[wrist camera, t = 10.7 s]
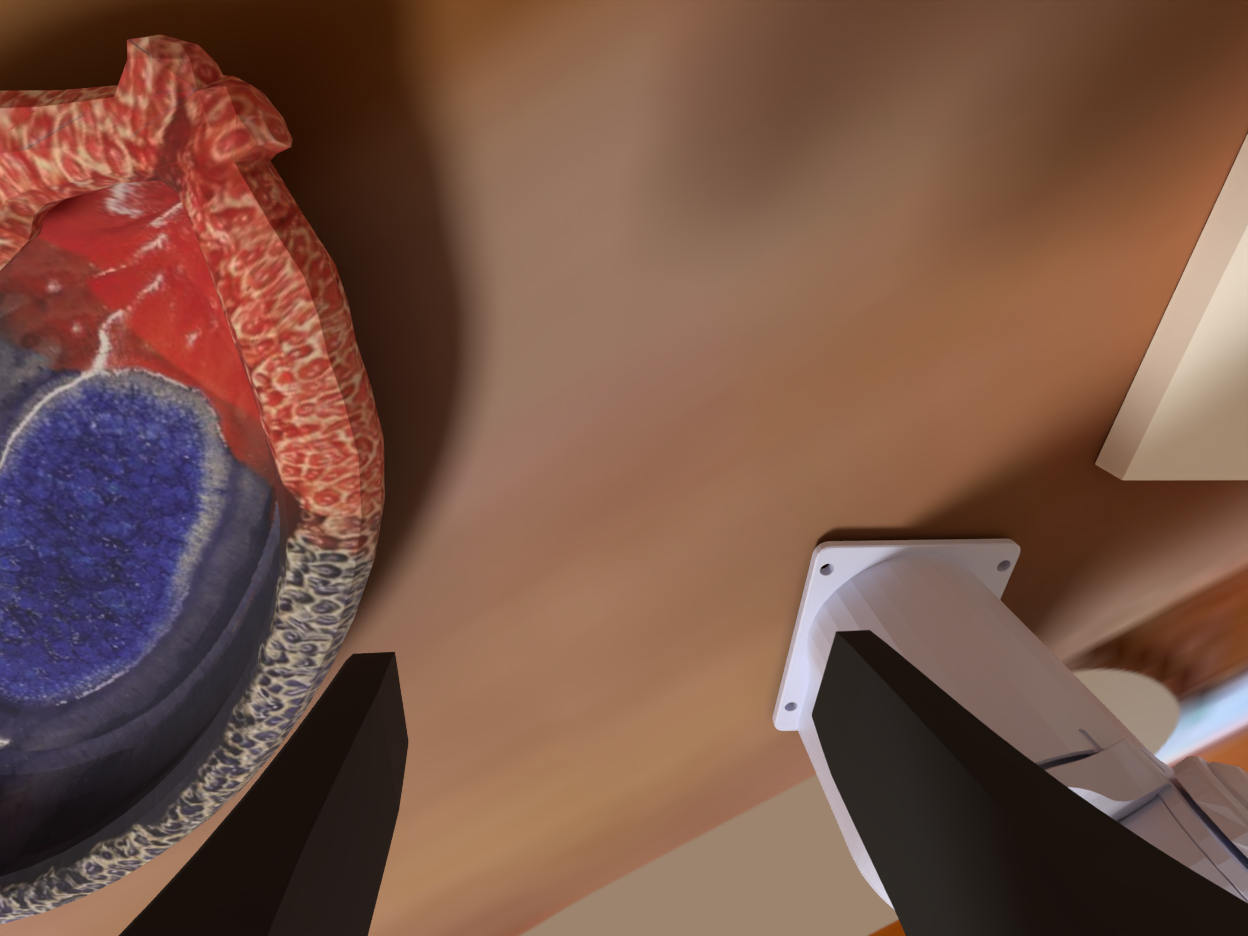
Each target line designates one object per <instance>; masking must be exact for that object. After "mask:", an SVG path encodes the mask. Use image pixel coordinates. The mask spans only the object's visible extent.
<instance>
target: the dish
mask: <svg viewBox="0 0 1248 936" xmlns="http://www.w3.org/2000/svg"><path fill="white" fill-rule="evenodd" d="M292 141H293V140H292V138H291V135H290V133H289V130H288V128H287V125H286V123H285V121H284V118H283V117H282V116H281V114H280V113H279V112H278V111H277V109H276V108H275V107H274V106H273V104H272V103H271V102H270V101H269V99H268V98H267V97H266V96H265V94H264V93H262V92H261V91H260V90H258V89H257V88H255V87H254V86H252V85H250V84H248V83H247V82H245V81H243V80H241V79H239V78H237V77H235V76H226V75H223V73H222V71H221V69H220V67H219V65H218V64H217V63H216V62H215V61H214V60H213V59H212V58H211V57H210V56H209V54H208V53H207V52H206V51H205V50H204V49H202V48H201V47H200V46H199V45H197V44H194V43H191V42H187V41H183V40H180V39H176V38H173V37H169V36H165V35H162V34H159V35H153V36H147V37H140V38H134V39H128V40H127V62H126V65H125V67H124V70H123V73H122V76H121V78H120V81H119V84H118V85H114V86H103V87H92V88H80V89H69V90H20V91H0V924H4V923H8V922H11V921H15V920H18V919H22V918H25V917H29V916H33V915H36V914H40V913H43V912H46V911H49V910H51V909H54V908H57V907H59V906H62V905H64V904H67V903H69V902H72V901H75V900H77V899H80V898H82V897H85V896H87V895H89V894H91V893H93V892H95V891H97V890H99V889H101V888H103V887H105V886H107V885H109V884H111V883H113V882H115V881H117V880H119V879H121V878H123V877H124V876H126V875H127V874H129V873H131V872H132V871H134V870H136V869H137V868H139V867H140V866H142V865H144V864H145V863H147V862H148V861H150V860H152V859H153V858H155V857H156V856H158V855H160V854H161V853H163V852H164V851H166V850H167V849H169V848H170V847H172V846H173V845H175V844H176V843H177V842H179V841H180V840H181V839H183V838H184V837H185V836H187V835H188V834H189V833H191V832H192V831H193V830H195V829H196V828H197V827H199V826H200V825H201V824H203V823H204V822H205V821H207V820H208V819H209V818H210V817H212V816H213V815H214V814H215V813H216V812H217V811H218V810H219V809H220V808H221V807H222V806H223V805H225V804H226V803H227V802H228V801H229V800H230V799H231V798H232V797H233V796H234V795H235V794H237V793H238V792H239V791H240V790H241V789H242V788H243V787H244V786H245V785H246V784H247V783H248V782H249V780H250V779H251V778H252V777H253V776H254V775H255V774H256V773H257V771H258V770H259V769H260V768H261V767H262V766H263V765H264V764H265V762H266V761H267V760H268V759H269V758H270V757H271V756H272V755H273V754H274V752H275V751H276V750H277V748H278V747H279V746H280V744H281V743H282V742H283V740H284V739H285V737H286V736H287V735H288V733H289V732H290V731H291V729H292V728H293V726H294V725H295V724H296V722H297V721H298V720H299V718H300V717H301V715H302V714H303V713H304V711H305V710H306V708H307V706H308V704H309V703H310V701H311V699H312V698H313V696H314V694H315V693H316V691H317V689H318V688H319V686H320V684H321V683H322V681H323V679H324V678H325V676H326V674H327V673H328V671H329V669H330V668H331V666H332V664H333V661H334V659H335V657H336V655H337V653H338V651H339V649H340V647H341V645H342V643H343V641H344V639H345V637H346V635H347V633H348V631H349V629H350V627H351V625H352V623H353V620H354V618H355V615H356V612H357V609H358V606H359V603H360V600H361V597H362V594H363V592H364V589H365V586H366V583H367V580H368V577H369V574H370V571H371V568H372V565H373V562H374V559H375V555H376V549H377V543H378V537H379V531H380V525H381V519H382V513H383V507H384V501H385V482H384V438H383V434H382V430H381V426H380V421H379V417H378V413H377V409H376V405H375V401H374V397H373V393H372V389H371V385H370V381H369V378H368V375H367V372H366V369H365V366H364V363H363V360H362V357H361V354H360V351H359V348H358V345H357V342H356V339H355V334H354V329H353V324H352V319H351V314H350V309H349V304H348V300H347V297H346V294H345V291H344V289H343V286H342V283H341V280H340V277H339V274H338V271H337V268H336V265H335V263H334V261H333V260H332V258H331V257H330V255H329V254H328V252H327V250H326V249H325V247H324V246H323V244H322V243H321V241H320V240H319V238H318V237H317V235H316V233H315V232H314V230H313V229H312V227H311V226H310V224H309V223H308V221H307V220H306V218H305V216H304V215H303V213H302V212H301V210H300V209H299V207H298V205H297V204H296V202H295V200H294V199H293V197H292V195H291V194H290V192H289V190H288V189H287V187H286V185H285V184H284V182H283V180H282V179H281V177H280V175H279V174H278V172H277V170H276V169H275V167H274V165H273V164H272V162H271V159H272V158H273V157H274V156H275V155H276V154H277V153H279V152H281V151H283V150H286V149H288V148H290V147H291V146H292Z"/></svg>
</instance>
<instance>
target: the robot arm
mask: <svg viewBox="0 0 1248 936" xmlns="http://www.w3.org/2000/svg"><path fill="white" fill-rule="evenodd" d="M1020 551H1021V549H1020V546H1019V545H1017V544H1016V543H1015V542H1014V541H1013V540H1011V539H947V540H880V541H828V542H823V543H821V544H819V545H818V546H817V547H816V548H815V549H814V552H813V554H812V558H811V563H810V567H809V571H808V575H807V579H806V583H805V587H804V591H803V595H802V599H801V603H800V608H799V612H798V616H797V620H796V624H795V628H794V632H793V636H792V640H791V644H790V648H789V652H788V657H787V661H786V665H785V669H784V673H783V677H782V681H781V685H780V689H779V693H778V697H777V701H776V706H775V710H774V714H773V723H774V725H775V727H776V728H777V729H778V730H780V731H794V730H798V732H799V734H800V736H801V739H802V741H803V743H804V746H805V748H806V750H807V753H808V755H809V757H810V760H811V762H812V764H813V767H814V769H815V771H816V774H817V776H818V778H819V780H820V783H821V785H822V787H823V790H824V792H825V795H826V797H827V799H828V801H829V804H830V806H831V808H832V811H833V813H834V816H835V818H836V820H837V822H838V825H839V827H840V830H841V832H842V834H843V836H844V839H845V841H846V843H847V846H848V848H849V850H850V853H851V855H852V857H853V859H854V861H855V863H856V865H857V867H858V868H859V870H860V872H861V873H862V875H863V876H864V878H865V879H866V880H867V881H868V883H869V884H870V886H871V887H872V888H873V889H874V890H875V891H876V892H877V894H878V895H879V896H880V897H881V898H882V899H883V900H884V901H885V902H886V903H887V904H888V905H890V906H891V907H892V908H893V909H894V910H895V912H896V914H897V916H898V918H899V921H900V923H901V925H902V927H903V930H904V932H905V934H906V936H1248V773H1247V772H1246V771H1244V770H1243V769H1241V768H1240V767H1237V766H1233V765H1228V764H1222V763H1217V762H1211V763H1209V762H1207V761H1206V760H1204V759H1202V758H1200V757H1196V756H1190V757H1187V758H1185V759H1184V760H1182V761H1181V762H1179V763H1178V764H1176V765H1175V766H1173V767H1172V768H1173V769H1172V768H1171V767H1169V766H1168V765H1166V764H1165V763H1163V762H1162V761H1160V760H1159V759H1157V758H1156V757H1155V756H1154V755H1153V754H1152V753H1151V752H1150V751H1149V750H1148V749H1147V748H1146V747H1145V746H1144V745H1143V744H1142V743H1141V742H1140V741H1139V740H1138V739H1137V738H1136V737H1135V736H1134V735H1133V734H1132V733H1131V732H1130V731H1129V730H1128V729H1127V728H1126V727H1125V726H1124V725H1123V724H1122V723H1121V722H1120V721H1119V720H1118V719H1117V718H1116V716H1115V715H1114V714H1113V713H1112V712H1110V711H1109V709H1107V708H1106V706H1105V705H1104V704H1103V703H1102V702H1101V701H1100V700H1099V699H1098V698H1097V697H1096V696H1095V695H1094V694H1093V693H1091V691H1090V690H1089V689H1088V688H1087V687H1086V686H1085V685H1084V684H1083V683H1082V682H1081V681H1080V680H1079V679H1078V678H1077V677H1076V676H1075V675H1074V674H1073V673H1072V672H1071V671H1070V670H1069V669H1068V668H1067V667H1066V666H1065V665H1064V664H1063V663H1062V662H1061V661H1060V660H1059V659H1058V658H1057V657H1056V656H1055V655H1054V654H1053V653H1052V652H1051V651H1050V650H1049V649H1048V648H1047V647H1046V646H1045V645H1044V644H1043V643H1042V642H1041V641H1040V640H1039V639H1038V638H1037V637H1036V636H1035V635H1034V634H1033V633H1032V632H1031V631H1030V630H1029V629H1028V628H1027V627H1026V626H1025V625H1024V624H1023V622H1022V621H1021V620H1020V619H1019V618H1018V617H1017V616H1016V615H1015V614H1014V613H1013V612H1012V611H1011V610H1010V609H1009V608H1008V607H1007V606H1006V605H1005V604H1004V603H1003V602H1002V601H1001V600H1000V599H1001V597H1002V594H1003V592H1004V590H1005V587H1006V585H1007V583H1008V580H1009V578H1010V576H1011V573H1012V571H1013V569H1014V567H1015V564H1016V562H1017V560H1018V557H1019V555H1020ZM999 563H1000V564H999ZM825 564H829V565H828V566H827V567H826V568H823V569H821V567H822V566H823V565H825ZM407 749H408V736H407V729H406V723H405V716H404V709H403V703H402V696H401V690H400V683H399V676H398V670H397V663H396V656H395V652H383V653H362V654H353V655H352V656H350V657H349V658H348V659H347V660H346V661H345V663H344V664H343V666H342V667H341V669H340V670H339V672H338V673H337V674H336V676H335V677H334V679H333V680H332V682H331V683H330V684H329V686H328V687H327V689H326V690H325V692H324V693H323V694H322V696H321V697H320V699H319V700H318V701H317V703H316V704H315V705H314V707H313V708H312V710H311V711H310V712H309V714H308V715H307V716H306V718H305V719H304V720H303V722H302V723H301V724H300V726H299V727H298V728H297V730H296V731H295V732H294V734H293V735H292V736H291V738H290V739H289V740H288V742H287V743H286V744H285V745H284V747H283V748H282V749H281V750H280V752H279V753H278V754H277V756H276V757H275V758H274V759H273V761H272V762H271V763H270V765H269V766H268V767H267V768H266V770H265V771H264V772H263V773H262V775H261V776H260V777H259V779H258V780H257V781H256V782H255V784H254V785H253V786H252V787H251V789H250V790H249V791H248V792H247V793H246V795H245V796H244V797H243V798H242V799H241V801H240V802H239V803H238V804H237V805H236V806H235V808H234V809H233V810H232V811H231V812H230V813H229V815H228V816H227V817H226V818H225V819H224V820H223V822H222V823H221V824H220V825H219V826H218V827H217V829H216V830H215V831H214V832H213V833H212V835H211V836H210V837H209V838H208V839H207V840H206V842H205V843H204V844H203V845H202V846H201V847H200V849H199V850H198V851H197V852H196V853H195V854H194V855H193V857H192V858H191V859H190V860H189V861H188V862H187V863H186V864H185V865H184V867H183V868H182V869H181V870H180V871H179V872H178V873H177V874H176V875H175V876H174V878H173V879H172V880H171V881H170V882H169V883H168V884H167V885H166V886H165V887H164V889H163V890H162V891H161V892H160V893H159V894H158V895H157V896H156V897H155V898H154V899H153V900H152V901H151V902H150V904H149V905H148V906H147V907H146V908H145V909H144V910H143V911H142V912H141V913H140V914H139V915H138V916H137V917H136V918H135V919H134V920H133V921H132V922H131V923H130V924H129V925H128V926H127V928H126V929H125V930H124V931H123V932H122V933H121V934H120V935H119V936H368V932H369V928H370V924H371V920H372V916H373V912H374V908H375V904H376V900H377V896H378V892H379V888H380V885H381V881H382V877H383V873H384V869H385V865H386V861H387V857H388V852H389V848H390V844H391V840H392V836H393V832H394V828H395V824H396V820H397V816H398V812H399V806H400V799H401V792H402V785H403V779H404V771H405V764H406V756H407Z"/></svg>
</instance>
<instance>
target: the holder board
mask: <svg viewBox="0 0 1248 936" xmlns="http://www.w3.org/2000/svg"><path fill="white" fill-rule="evenodd" d="M1095 465H1097V466H1098V467H1100V468H1102V469H1104V470H1105V471H1107V472H1109V473H1110V474H1112V475H1114V476H1115V477H1117V478H1119V479H1120V480H1248V134H1247V136H1246V138H1245V141H1244V143H1243V145H1242V147H1241V149H1240V151H1239V154H1238V156H1237V158H1236V160H1235V162H1234V164H1233V167H1232V169H1231V171H1230V173H1229V175H1228V177H1227V180H1226V182H1225V184H1224V186H1223V188H1222V190H1221V192H1220V195H1219V197H1218V199H1217V201H1216V203H1215V205H1214V208H1213V210H1212V212H1211V214H1210V216H1209V218H1208V221H1207V223H1206V225H1205V227H1204V229H1203V231H1202V234H1201V236H1200V238H1199V240H1198V242H1197V244H1196V247H1195V249H1194V251H1193V253H1192V255H1191V257H1190V259H1189V262H1188V264H1187V266H1186V268H1185V270H1184V272H1183V275H1182V277H1181V279H1180V281H1179V283H1178V285H1177V288H1176V290H1175V292H1174V294H1173V296H1172V298H1171V301H1170V303H1169V305H1168V307H1167V309H1166V311H1165V313H1164V316H1163V318H1162V320H1161V322H1160V324H1159V326H1158V329H1157V331H1156V333H1155V335H1154V337H1153V339H1152V342H1151V344H1150V346H1149V348H1148V350H1147V352H1146V355H1145V357H1144V359H1143V361H1142V363H1141V365H1140V368H1139V370H1138V372H1137V374H1136V376H1135V378H1134V380H1133V383H1132V385H1131V387H1130V389H1129V391H1128V393H1127V396H1126V398H1125V400H1124V402H1123V404H1122V406H1121V409H1120V411H1119V413H1118V415H1117V417H1116V419H1115V422H1114V424H1113V426H1112V428H1111V430H1110V432H1109V434H1108V437H1107V439H1106V441H1105V443H1104V445H1103V447H1102V450H1101V452H1100V454H1099V456H1098V458H1097V460H1096V463H1095Z"/></svg>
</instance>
